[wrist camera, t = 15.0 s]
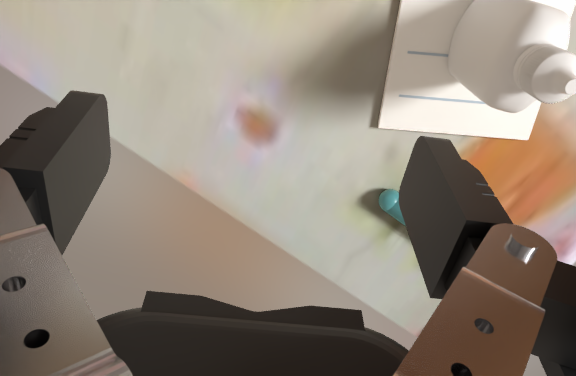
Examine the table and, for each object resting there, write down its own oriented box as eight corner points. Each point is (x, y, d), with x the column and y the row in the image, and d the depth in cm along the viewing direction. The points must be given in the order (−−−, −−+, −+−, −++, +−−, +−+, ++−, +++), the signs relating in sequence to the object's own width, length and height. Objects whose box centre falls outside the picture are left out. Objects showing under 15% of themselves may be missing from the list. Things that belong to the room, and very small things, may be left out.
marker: (371, 198, 38) (376, 209, 36) (387, 180, 37) (393, 190, 35) (472, 272, 41) (481, 285, 39) (489, 256, 40) (499, 269, 39)
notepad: (377, 125, 35) (378, 128, 34) (417, -97, 28) (420, -98, 28) (525, 137, 35) (528, 140, 34) (599, -80, 28) (605, -80, 28)
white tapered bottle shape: (534, 29, 31) (659, 77, 20) (462, 88, 33) (542, 161, 22) (495, -23, 29) (609, -1, 19) (423, 43, 31) (489, 96, 21)
